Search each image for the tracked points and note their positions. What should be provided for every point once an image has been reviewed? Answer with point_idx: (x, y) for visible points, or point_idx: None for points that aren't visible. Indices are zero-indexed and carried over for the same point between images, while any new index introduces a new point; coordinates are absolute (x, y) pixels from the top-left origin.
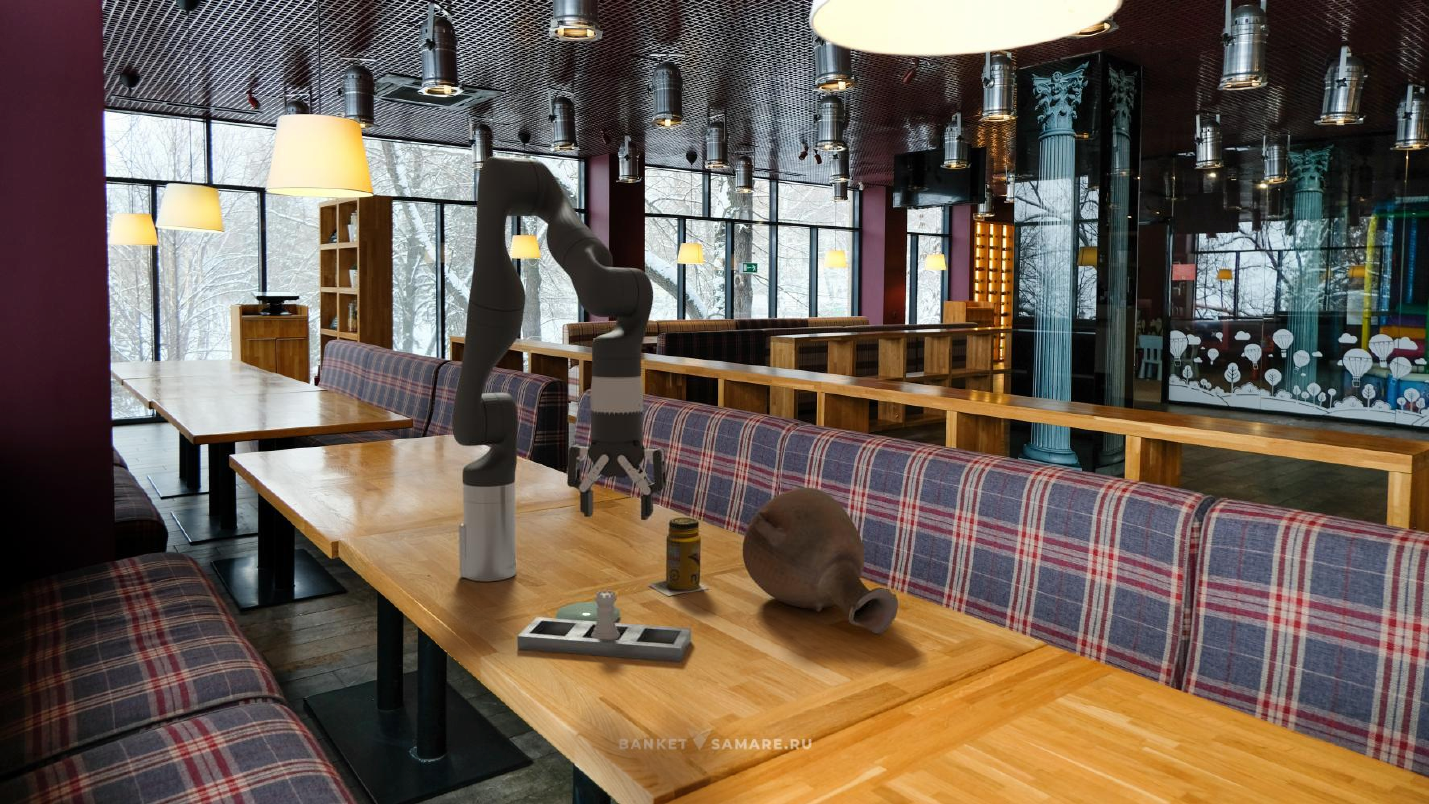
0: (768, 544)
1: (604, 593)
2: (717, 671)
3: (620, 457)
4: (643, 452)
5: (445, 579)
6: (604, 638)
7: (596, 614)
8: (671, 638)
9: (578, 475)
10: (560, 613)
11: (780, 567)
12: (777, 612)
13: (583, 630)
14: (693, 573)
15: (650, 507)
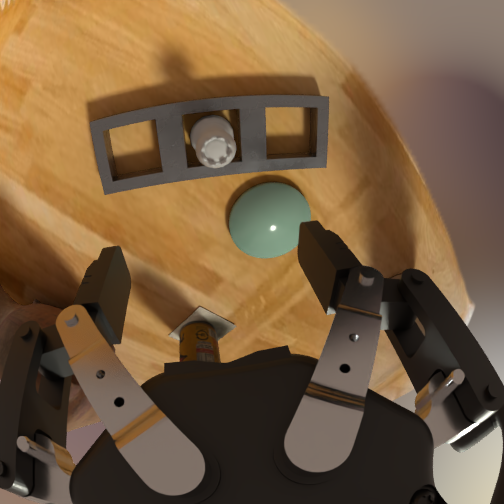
0: None
1: (220, 155)
2: (50, 115)
3: (182, 478)
4: (71, 498)
5: (422, 269)
6: (206, 119)
7: (258, 219)
8: (128, 174)
9: (400, 336)
10: (304, 209)
11: (40, 324)
12: (74, 299)
13: (247, 135)
14: (182, 342)
15: (83, 280)
